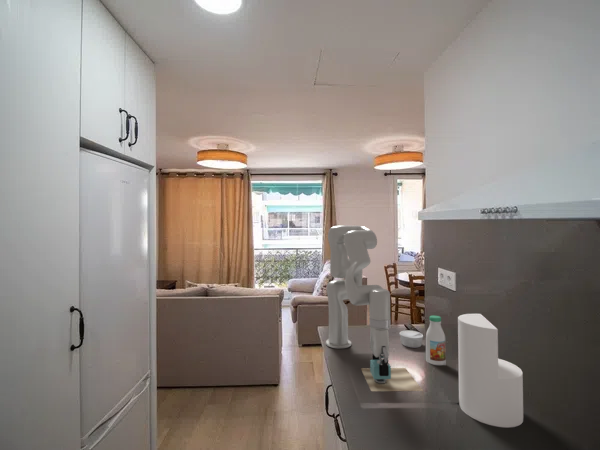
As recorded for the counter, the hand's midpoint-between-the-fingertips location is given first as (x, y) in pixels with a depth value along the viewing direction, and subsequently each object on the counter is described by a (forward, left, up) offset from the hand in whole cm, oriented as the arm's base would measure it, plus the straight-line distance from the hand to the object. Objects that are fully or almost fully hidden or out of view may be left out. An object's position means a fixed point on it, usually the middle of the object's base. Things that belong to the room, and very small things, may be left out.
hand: (380, 369), depth 116 cm
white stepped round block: (+17, +30, -6) cm, 35 cm away
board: (-2, +4, -6) cm, 7 cm away
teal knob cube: (0, 0, -2) cm, 2 cm away
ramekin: (-40, +26, -6) cm, 48 cm away
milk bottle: (-17, +28, -6) cm, 33 cm away
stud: (0, 0, -4) cm, 4 cm away
